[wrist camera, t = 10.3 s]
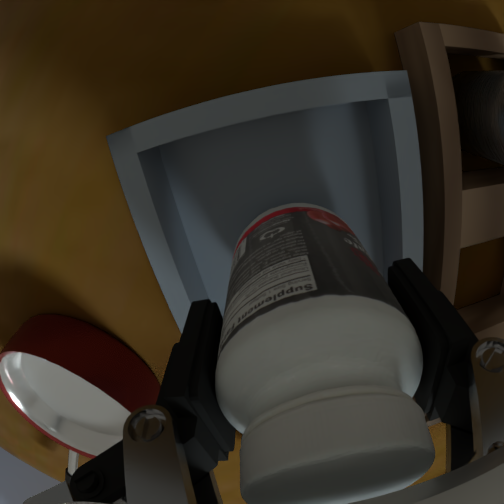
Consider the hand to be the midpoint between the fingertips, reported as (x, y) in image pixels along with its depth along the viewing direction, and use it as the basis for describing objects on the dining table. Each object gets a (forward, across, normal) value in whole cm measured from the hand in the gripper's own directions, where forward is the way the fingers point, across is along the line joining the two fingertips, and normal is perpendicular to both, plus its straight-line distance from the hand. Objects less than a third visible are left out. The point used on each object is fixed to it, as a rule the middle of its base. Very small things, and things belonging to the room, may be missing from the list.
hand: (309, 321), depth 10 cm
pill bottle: (+4, 0, 0) cm, 4 cm away
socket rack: (+6, -11, +4) cm, 13 cm away
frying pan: (+6, +22, +16) cm, 28 cm away
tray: (+6, 0, 0) cm, 6 cm away
